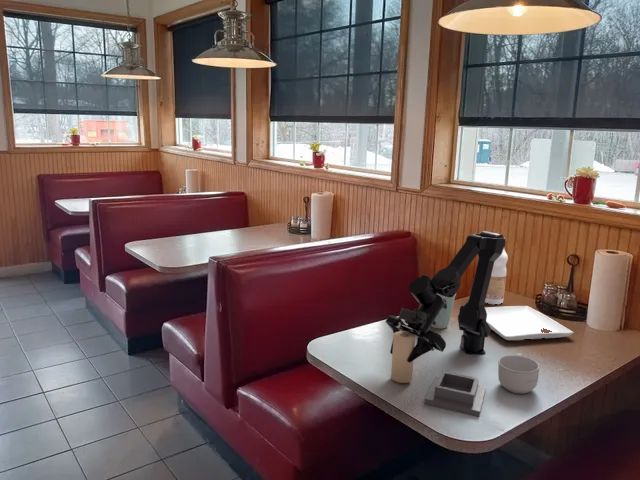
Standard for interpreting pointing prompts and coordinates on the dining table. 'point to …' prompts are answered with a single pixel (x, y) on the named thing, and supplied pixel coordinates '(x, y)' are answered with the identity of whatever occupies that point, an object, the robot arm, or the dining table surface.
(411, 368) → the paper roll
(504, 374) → the teacup
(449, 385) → the roll caddy
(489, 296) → the fruit juice
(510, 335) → the square plate
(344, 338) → the dining table surface
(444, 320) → the disposable coffee cup
